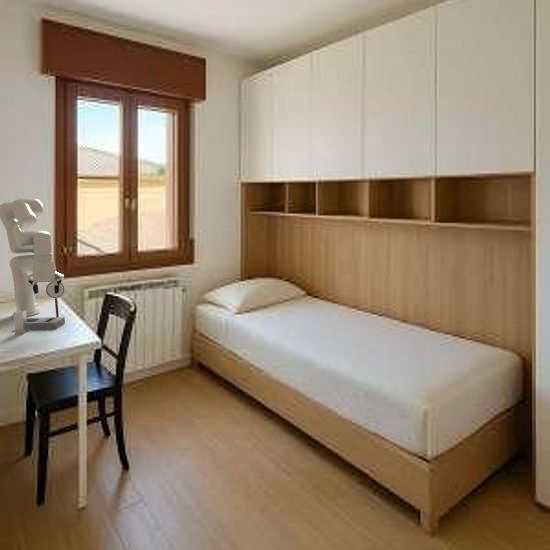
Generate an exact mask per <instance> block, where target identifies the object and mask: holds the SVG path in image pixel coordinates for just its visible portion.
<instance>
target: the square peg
mask: <svg viewBox="0 0 550 550" xmlns="http://www.w3.org/2000/svg"><path fill="white" fill-rule="evenodd" d="M12 316H13V325H14V334H15V335H24V333H25V334H26V333H28V332H29V329H28V324H27V318H28V316H27V314H26V311H14V312H13V313H12Z"/></svg>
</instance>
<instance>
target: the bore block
mask: <svg viewBox="0 0 550 550" xmlns="http://www.w3.org/2000/svg"><path fill="white" fill-rule="evenodd" d="M65 319H66V317H65V316H59V317H56V316H55V317H54V316H53V317H50V316H49V317H48V316H47V317H27V324H28V330H57V329H58V328H59V326H60V327H61V326H63V325H65V323H66V320H65ZM62 324H63V325H62Z"/></svg>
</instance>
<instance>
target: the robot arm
mask: <svg viewBox="0 0 550 550" xmlns="http://www.w3.org/2000/svg"><path fill="white" fill-rule="evenodd" d="M43 205H44V204H43V203H42V201H40V199H37V198H18V199H15V200H13V201H12V202H9V201H8V202H4V203H1V204H0V220H1V222H2V225H3V226H4V228H5V230H6V235H7V239H8V244H9V249H10V251H11V253H12V254H15V255H16V256H14V257H12V258H11V259H10V261H9V266H10V271H11V274H12V280H13V288H14V289H13V290H14V291H13V292H14V299H15V302H14V303H15V310H16V311H26V314H27V317H30V316H34V315H38V314H39V313H40V310H39V309H37V307H38V305H39V304H38V303H37V302H36V295H37V294H39V285H38V283H51V282H53V283H54V284H55V286H54V289H55V294H57V293H59V284H60V283H62V282H63V280H64V277H65V275H64V274H61V273H59V272H58V271H57V266H56V264H55V260H53V251H52V239H51V238H52V237H51V233H50V232H48V231H46V230H30V229H31V228H32V227H34V226H35V225H36V224H37V221H38V220H37V219H38V218H37V217H39V216H41V215H42V214H43V211H44V206H43ZM28 229H29V231H27V230H28ZM21 254H22V255H21ZM23 254H24V255H23ZM26 254H27V255H26ZM58 278H59V279H58ZM16 311H15V312H16Z"/></svg>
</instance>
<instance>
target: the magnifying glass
mask: <svg viewBox="0 0 550 550" xmlns="http://www.w3.org/2000/svg"><path fill="white" fill-rule="evenodd" d="M54 286H55V284H54V283H53V282H48V284H47V286H46V288H45V292H46V294H47V296H48V297H50V298H52V299H54V304H55V305H54V306H55V317H60V315H59V303H58V298H60V297H61V296H62V295H64V292H65V286H64V285H63V283H62V282H61V283H60V284H59V293H57V294H55V289H54Z"/></svg>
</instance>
